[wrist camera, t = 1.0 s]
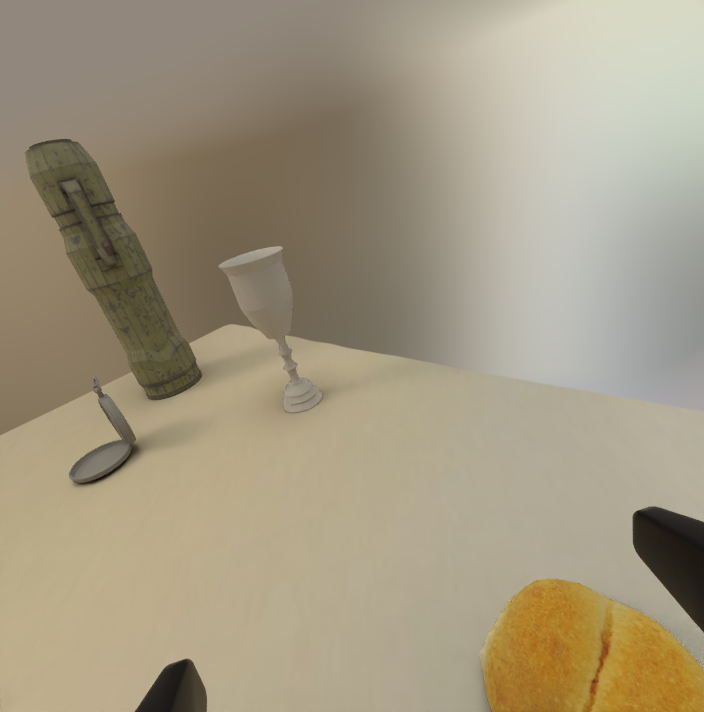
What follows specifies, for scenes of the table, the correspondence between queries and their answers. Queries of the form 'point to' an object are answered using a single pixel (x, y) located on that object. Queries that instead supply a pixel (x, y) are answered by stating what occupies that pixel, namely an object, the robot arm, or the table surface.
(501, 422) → the table surface
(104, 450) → the pocket watch
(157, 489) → the table surface
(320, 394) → the chalice
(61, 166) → the thermos
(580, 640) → the bread roll
